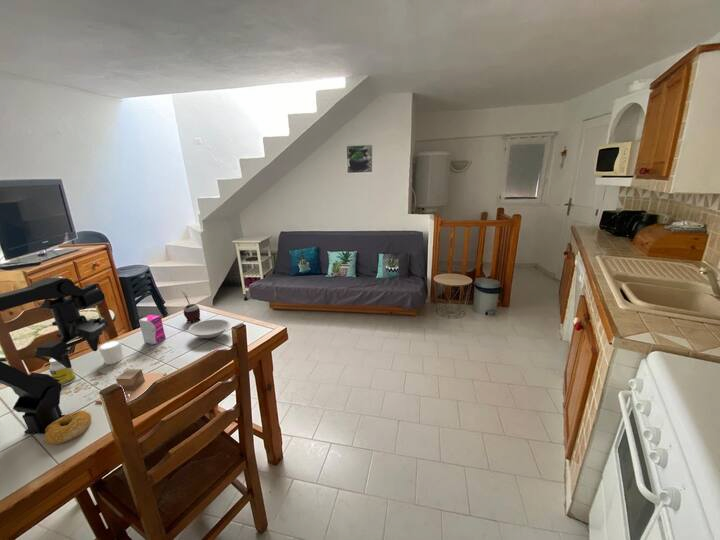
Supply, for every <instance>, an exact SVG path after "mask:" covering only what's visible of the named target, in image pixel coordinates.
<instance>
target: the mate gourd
mask: <svg viewBox="0 0 720 540" xmlns="http://www.w3.org/2000/svg"><path fill="white" fill-rule="evenodd" d="M181 293H182V294H183V295H184V297H185V300H186V301H187V303H188V304H187V305H186V306H184V308H183V316H184V317H185V319H186V322H187V321H188V322H190V324H191V325H193V324H194V322H201V319H200V317H201V309H200V307H199V305H198V304H195V303H192V304H191V303H190V300H189V299H188V296H187V294H186V293H185V292H184V291H183V290H181Z"/></svg>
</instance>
